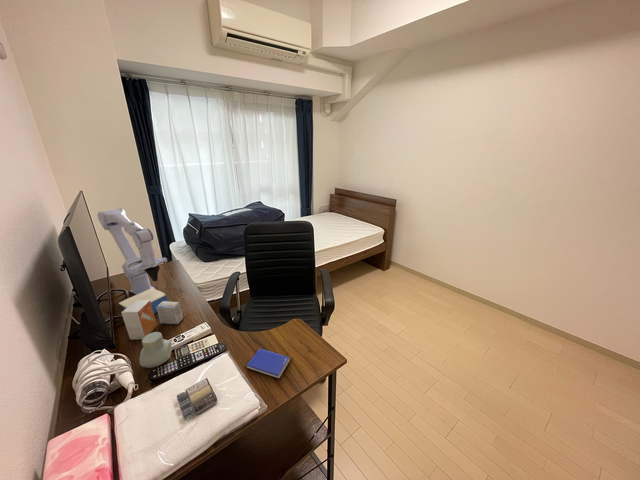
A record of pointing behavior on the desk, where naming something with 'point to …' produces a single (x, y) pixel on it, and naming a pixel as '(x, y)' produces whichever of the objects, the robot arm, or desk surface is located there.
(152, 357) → the air freshener
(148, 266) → the robot arm
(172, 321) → the medicine box
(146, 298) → the lid
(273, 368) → the hard drive
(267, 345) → the desk surface
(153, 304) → the case
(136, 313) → the small box
